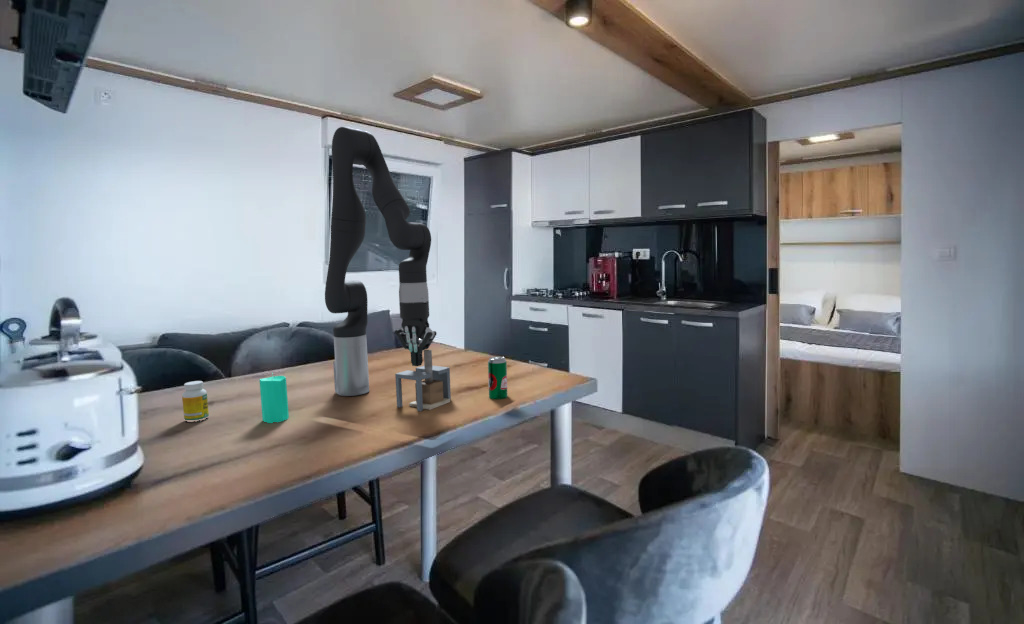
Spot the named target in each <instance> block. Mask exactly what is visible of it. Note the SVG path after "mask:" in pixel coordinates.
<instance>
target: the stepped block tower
mask: <svg viewBox="0 0 1024 624" xmlns="http://www.w3.org/2000/svg"><path fill="white" fill-rule="evenodd" d="M432 351H433V350H432V349H425V350H423V364H424V365H423V366H424V367H425V373H431V377H430V378H426V379H423V380H422V400H423V410H429V411H430V410H433V409H435V408H438V407H441V406H443V405H446V404H448V403H449V404H450V403H451V400H450V399H448V398H443V381H438V380H433V371H432V365H433V353H432ZM414 384H415V386H414V388H415V389H416V382H415V383H414ZM408 405H409V407H413V408H417V394H416V393H415V401H414V400H413V401H411V402H409V403H408Z"/></svg>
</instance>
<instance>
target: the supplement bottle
mask: <svg viewBox="0 0 1024 624" xmlns="http://www.w3.org/2000/svg"><path fill="white" fill-rule="evenodd" d="M183 386H184V391H183V392H182V394H181V399H182V400H181V401H182V409H183V410H182V411H183V419H185V420H199V419H203V418H206V417H208V416H209V417H210V412H209V402H208V392H207V390H206V389H204V382H203V381H202V380H194V381H188V382H185V383H184V384H183Z"/></svg>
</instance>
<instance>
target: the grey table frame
mask: <svg viewBox="0 0 1024 624" xmlns="http://www.w3.org/2000/svg"><path fill="white" fill-rule="evenodd" d="M450 369H451V368H450V367H449V366H442V365H441V366H439V365H433V364H432V371H433V380H438V381H443V398H448V399H450V401H451V400H452V394H451V371H450ZM394 376H395V377H394V378H395V391H396V393H395V394H396V408H403V405H404V404H403V389H402V387H403V385H402V384H403V383H402V379H403V380H409V381H410V380H411V381H415V383H416V388H415V395H416V394H417V407H416V412H417V411H418V412H422V411H424V409H423V400H422V381H424V380H425V379H426V378H430V377H431V373H425V367H424V365H421V366H416V367H415V370H409V369H407V370H402V371H400V372H396V373H395V374H394Z"/></svg>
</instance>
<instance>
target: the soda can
mask: <svg viewBox="0 0 1024 624" xmlns="http://www.w3.org/2000/svg"><path fill="white" fill-rule="evenodd" d="M507 363H508V362H507V360H506V357H504V356H491V357H489V358H488V361H487V371H488V372H487V376H488V377H487V378H488V381H487V382H488V398H489V399H490V400H491V399H492V400H504V399H507V398H508V396H509V395H508V365H507Z"/></svg>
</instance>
